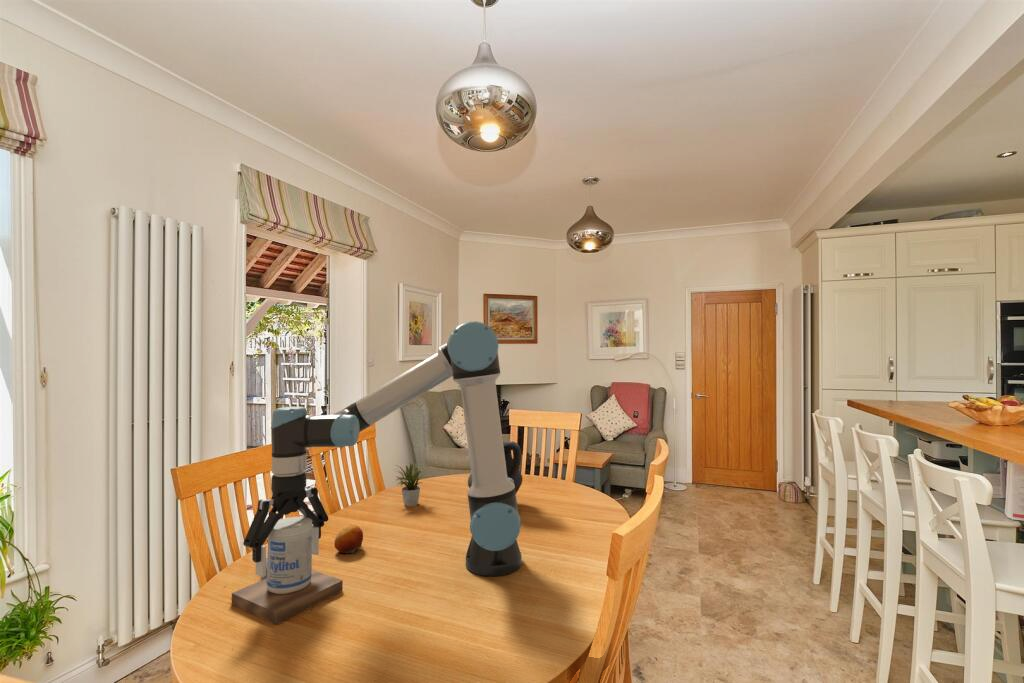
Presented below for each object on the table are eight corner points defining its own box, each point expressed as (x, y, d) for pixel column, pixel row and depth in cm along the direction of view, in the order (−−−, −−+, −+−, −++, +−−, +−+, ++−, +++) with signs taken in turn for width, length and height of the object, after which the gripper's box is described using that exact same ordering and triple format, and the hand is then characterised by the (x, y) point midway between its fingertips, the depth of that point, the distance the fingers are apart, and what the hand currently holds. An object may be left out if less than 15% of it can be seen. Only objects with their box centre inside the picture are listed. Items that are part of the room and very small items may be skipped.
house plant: (389, 500, 188) (389, 458, 189) (424, 496, 193) (424, 456, 193) (391, 511, 175) (391, 466, 175) (429, 507, 179) (429, 463, 180)
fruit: (360, 552, 134) (347, 526, 135) (338, 565, 136) (325, 539, 137) (374, 541, 142) (361, 517, 143) (353, 553, 144) (341, 529, 145)
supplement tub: (265, 599, 106) (265, 532, 107) (268, 581, 115) (268, 519, 115) (312, 590, 110) (312, 526, 111) (312, 573, 119) (312, 513, 119)
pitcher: (491, 495, 193) (490, 433, 194) (536, 505, 180) (535, 438, 181) (457, 509, 176) (456, 441, 177) (504, 520, 164) (503, 447, 164)
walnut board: (342, 590, 115) (342, 580, 115) (276, 624, 100) (276, 612, 101) (298, 574, 124) (298, 565, 124) (231, 604, 109) (231, 593, 109)
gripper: (323, 461, 126) (323, 542, 125) (226, 482, 104) (225, 581, 104) (342, 464, 122) (342, 548, 121) (245, 487, 100) (244, 590, 100)
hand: (288, 564), depth 112 cm, fingers open, 13 cm apart
